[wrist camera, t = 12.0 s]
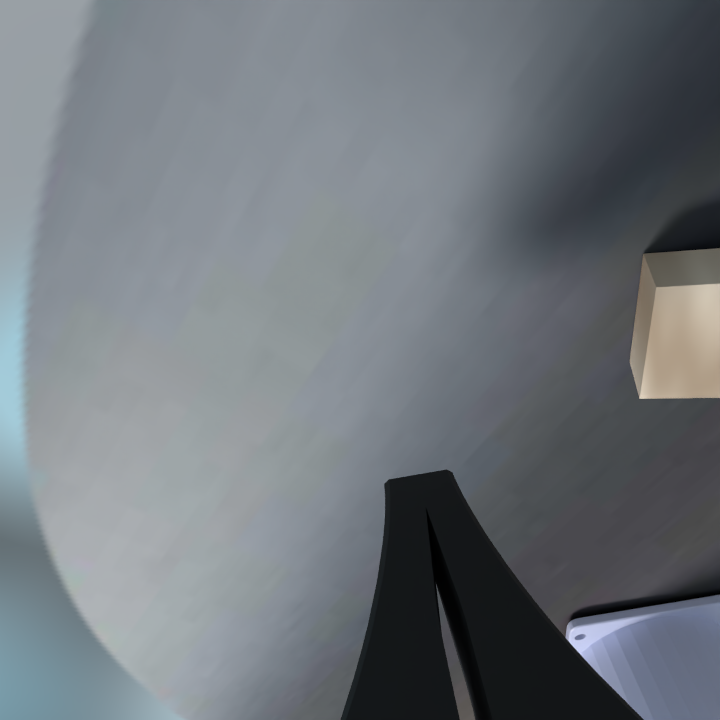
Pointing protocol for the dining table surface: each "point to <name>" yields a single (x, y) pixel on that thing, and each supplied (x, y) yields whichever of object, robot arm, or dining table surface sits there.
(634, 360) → the wooden block
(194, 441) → the dining table surface
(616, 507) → the dining table surface
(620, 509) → the dining table surface
